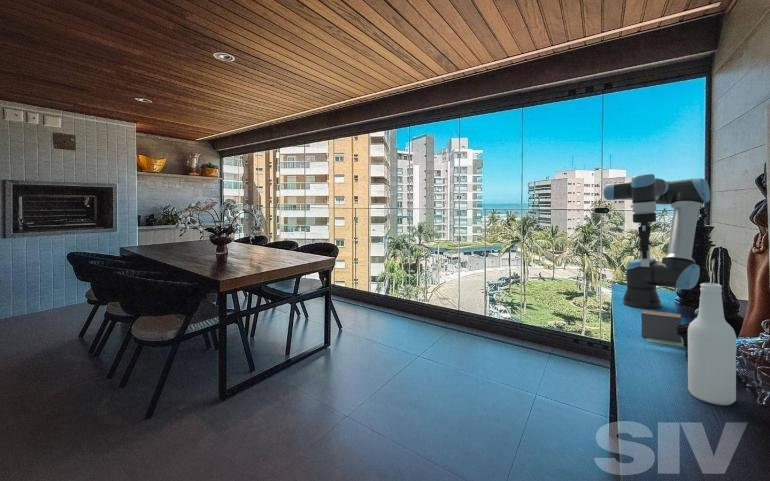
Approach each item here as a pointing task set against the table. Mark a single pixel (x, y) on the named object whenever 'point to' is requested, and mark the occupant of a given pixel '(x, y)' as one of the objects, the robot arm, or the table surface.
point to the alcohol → (712, 350)
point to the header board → (666, 342)
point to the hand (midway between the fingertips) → (645, 263)
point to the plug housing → (660, 325)
